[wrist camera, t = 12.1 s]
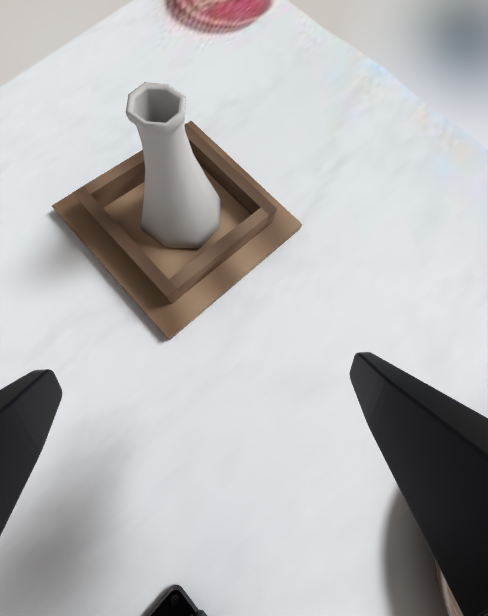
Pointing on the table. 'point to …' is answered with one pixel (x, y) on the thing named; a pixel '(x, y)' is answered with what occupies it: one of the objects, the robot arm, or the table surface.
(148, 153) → the flask
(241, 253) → the holder
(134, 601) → the table surface
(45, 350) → the table surface
